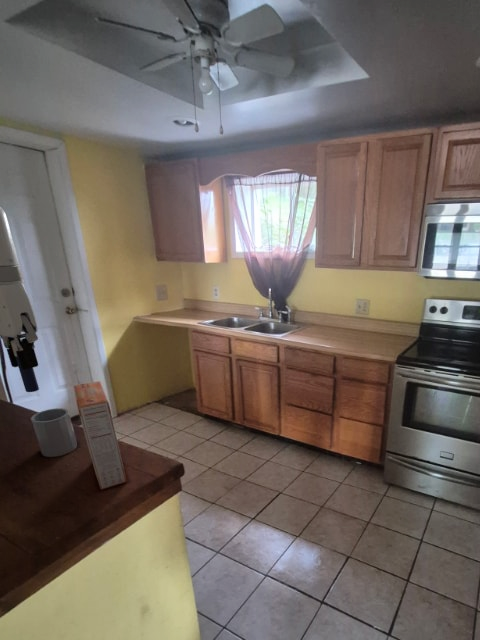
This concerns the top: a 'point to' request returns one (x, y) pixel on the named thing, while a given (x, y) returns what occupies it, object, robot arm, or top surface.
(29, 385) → the marker
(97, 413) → the cracker box
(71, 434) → the pen pot
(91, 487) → the top surface
